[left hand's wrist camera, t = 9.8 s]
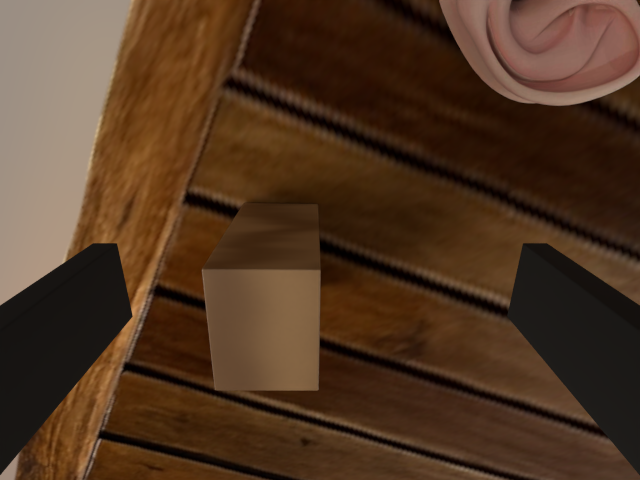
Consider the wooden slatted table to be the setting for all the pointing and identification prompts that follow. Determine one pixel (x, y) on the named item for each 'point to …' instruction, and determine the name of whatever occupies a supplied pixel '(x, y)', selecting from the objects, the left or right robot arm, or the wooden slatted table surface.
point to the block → (265, 299)
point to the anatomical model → (549, 46)
